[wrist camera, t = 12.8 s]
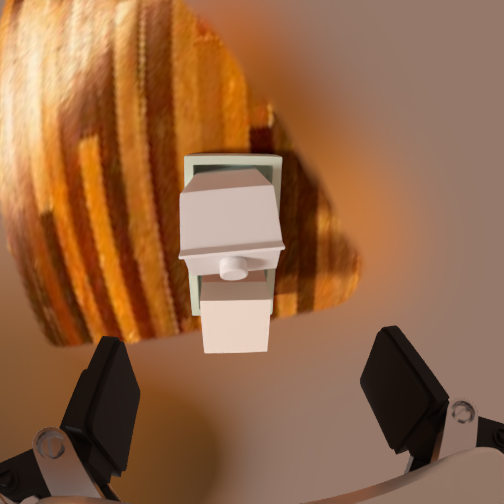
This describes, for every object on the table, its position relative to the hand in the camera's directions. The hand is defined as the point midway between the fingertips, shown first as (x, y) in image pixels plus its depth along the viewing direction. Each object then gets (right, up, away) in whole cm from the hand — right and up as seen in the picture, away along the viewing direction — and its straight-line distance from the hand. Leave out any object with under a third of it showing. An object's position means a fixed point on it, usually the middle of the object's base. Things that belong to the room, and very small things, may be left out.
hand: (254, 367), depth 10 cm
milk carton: (-3, +12, +27) cm, 29 cm away
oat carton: (-3, +2, +31) cm, 31 cm away
